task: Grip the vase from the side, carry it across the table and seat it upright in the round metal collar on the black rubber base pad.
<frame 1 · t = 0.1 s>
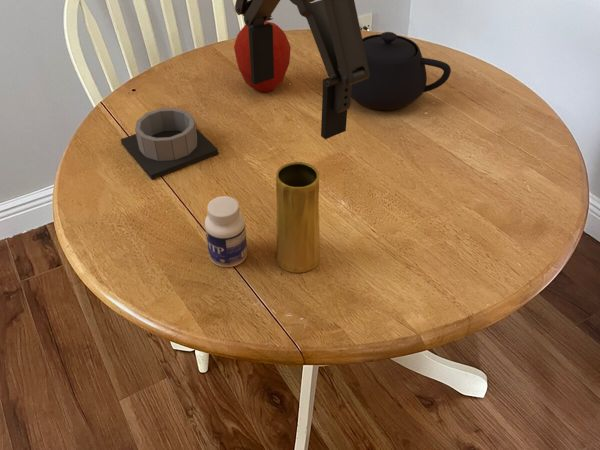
hand: (295, 105, 65), 23 cm above the table, tool pointing down, fingers open, 13 cm apart
teapot: (377, 96, 111), on the table
pill bottle: (228, 255, 80), on the table
vase: (297, 258, 80), on the table
socket pad: (169, 148, 98), on the table
apple: (263, 88, 113), on the table
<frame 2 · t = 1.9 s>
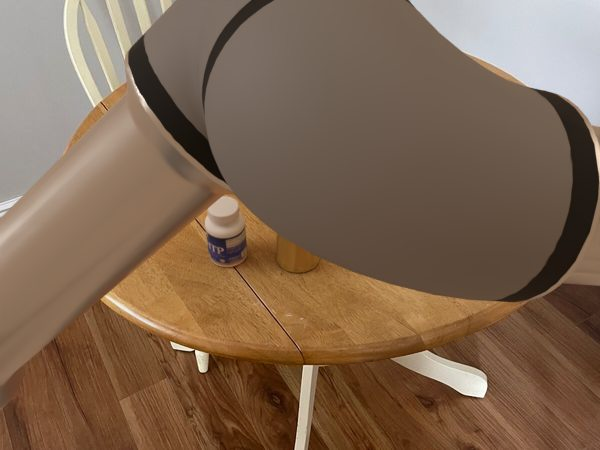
hand: (375, 151, 63), 20 cm above the table, tool horizontal, fingers open, 13 cm apart
nothing on the table moved.
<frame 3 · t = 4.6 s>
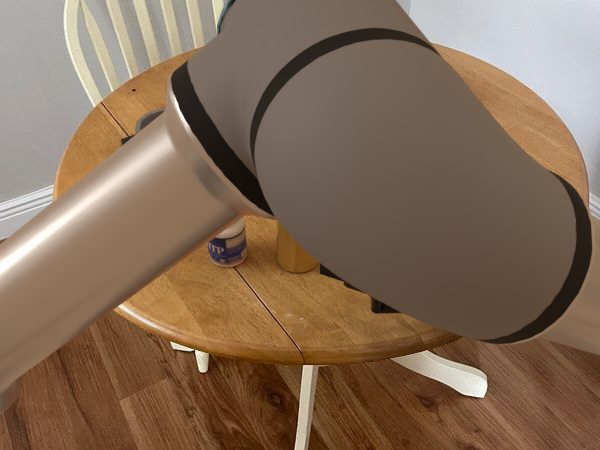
hand: (342, 227, 72), 8 cm above the table, tool horizontal, fingers open, 13 cm apart
nothing on the table moved.
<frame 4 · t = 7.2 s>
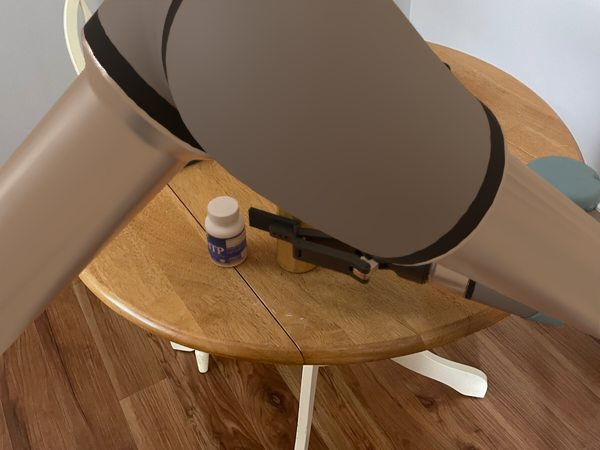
hand: (261, 202, 76), 8 cm above the table, tool horizontal, fingers closed on vase, 5 cm apart
vase: (297, 258, 80), on the table, touching gripper
everything else where it was.
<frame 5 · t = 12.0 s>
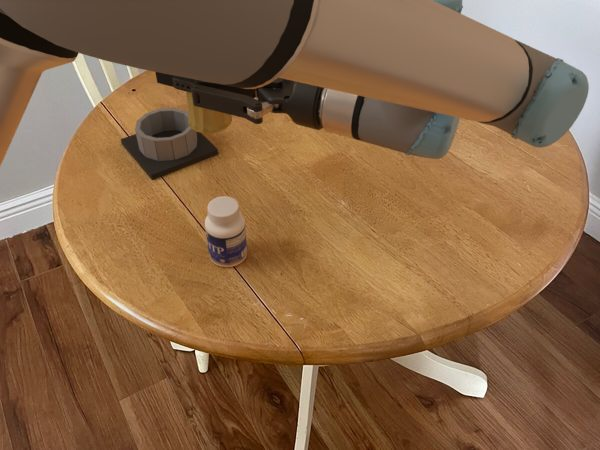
hand: (170, 62, 79), 20 cm above the table, tool horizontal, fingers closed on vase, 5 cm apart
vase: (210, 123, 83), point 12 cm above the table, touching gripper
everything else where it was.
when the fingers open (9 cm above the table, at t = 17.0 s): vase stays where it is, resting on socket pad.
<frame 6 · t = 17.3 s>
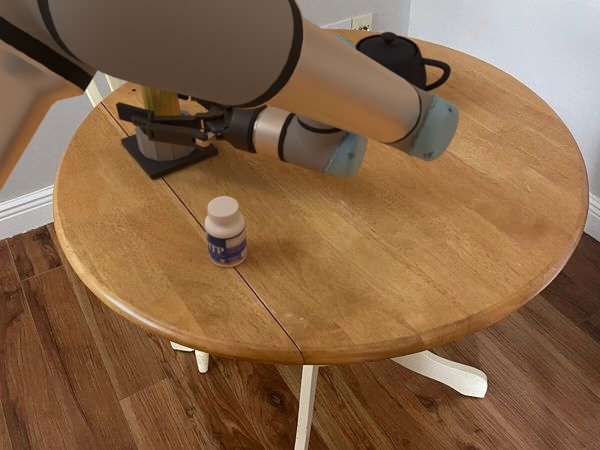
hand: (136, 96, 94), 9 cm above the table, tool horizontal, fingers open, 8 cm apart
vase: (169, 144, 98), point 1 cm above the table, touching socket pad
everything else where it was.
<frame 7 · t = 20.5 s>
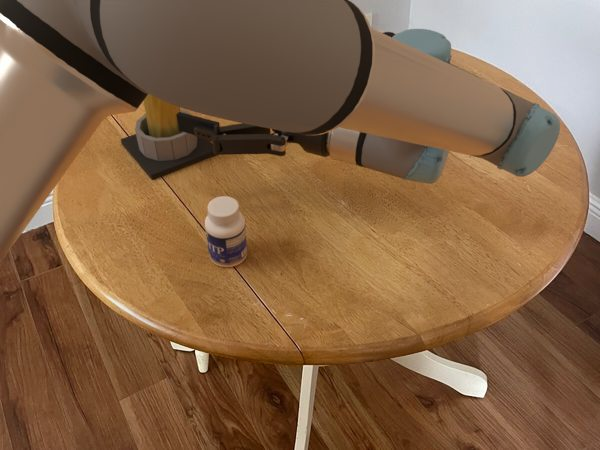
hand: (203, 98, 88), 12 cm above the table, tool horizontal, fingers open, 13 cm apart
nothing on the table moved.
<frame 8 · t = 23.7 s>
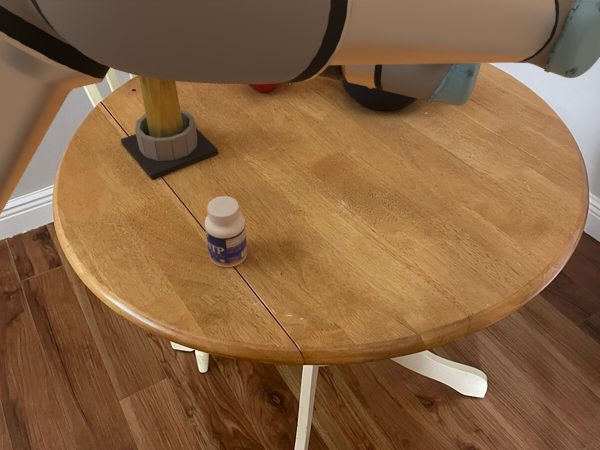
hand: (203, 20, 79), 24 cm above the table, tool horizontal, fingers open, 13 cm apart
nothing on the table moved.
at the end: vase 0.0 cm off-centre on the socket pad, point 0.8 cm above the socket pad's base; vase tilted 0°; the gripper is holding nothing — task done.
